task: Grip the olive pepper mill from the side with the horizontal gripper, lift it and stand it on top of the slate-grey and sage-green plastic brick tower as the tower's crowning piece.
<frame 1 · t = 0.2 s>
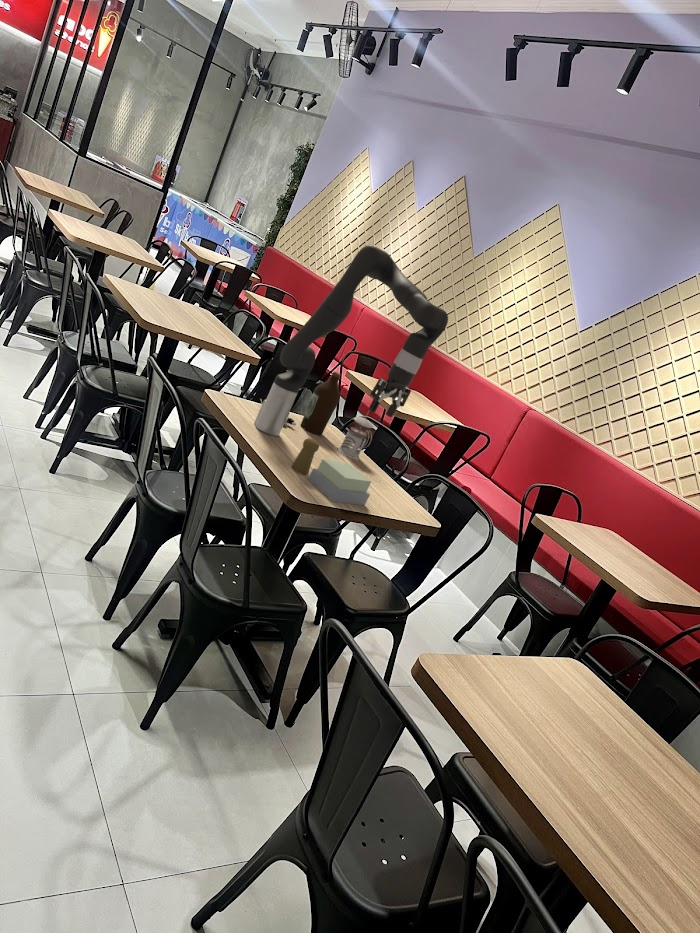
hand: (380, 413, 214), 28 cm above the table, tool pointing down, fingers open, 8 cm apart
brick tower: (336, 492, 220), on the table
robot toy: (275, 419, 270), on the table
olive pepper mill: (299, 470, 224), on the table
olive oil: (310, 430, 278), on the table
french press: (349, 455, 269), on the table
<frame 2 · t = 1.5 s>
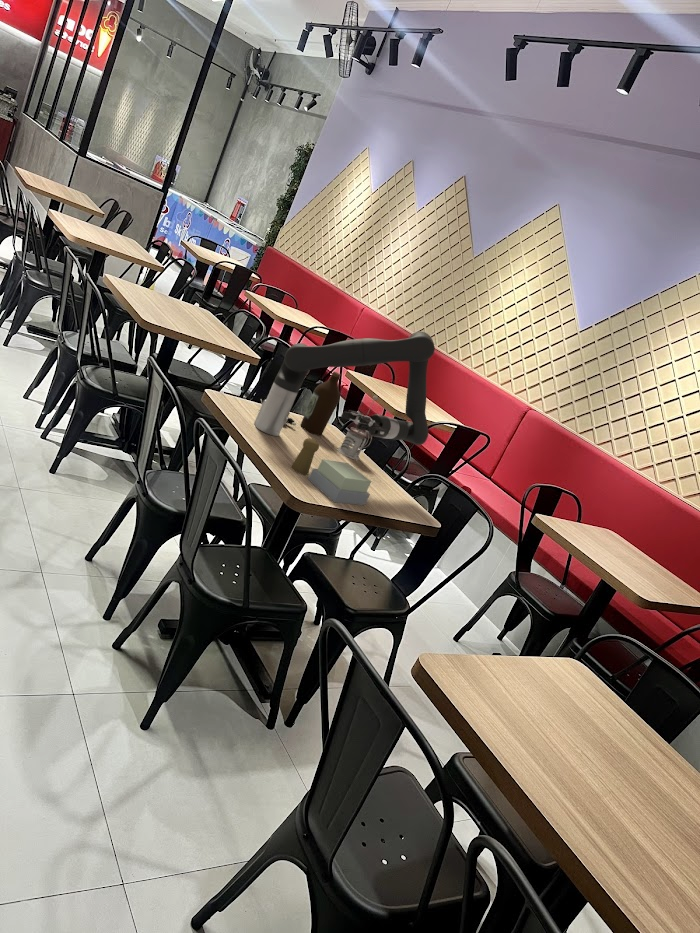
hand: (350, 420, 227), 20 cm above the table, tool horizontal, fingers open, 8 cm apart
nothing on the table moved.
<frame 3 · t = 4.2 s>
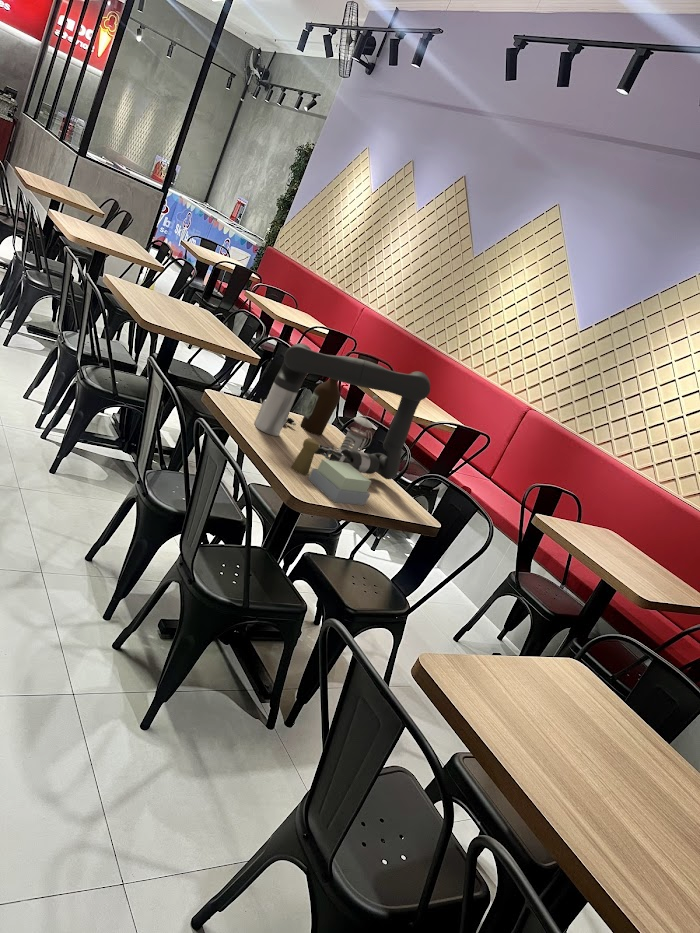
hand: (321, 456, 227), 6 cm above the table, tool horizontal, fingers open, 8 cm apart
nothing on the table moved.
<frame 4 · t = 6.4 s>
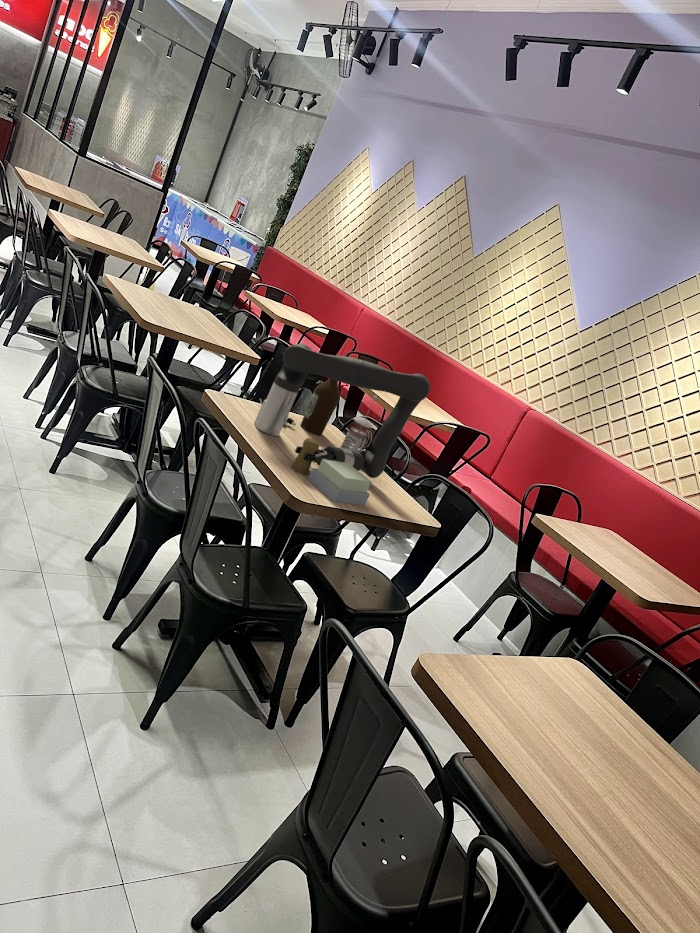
hand: (300, 452, 221), 6 cm above the table, tool horizontal, fingers closed on olive pepper mill, 4 cm apart
olive pepper mill: (299, 470, 224), on the table, touching gripper
everything else where it was.
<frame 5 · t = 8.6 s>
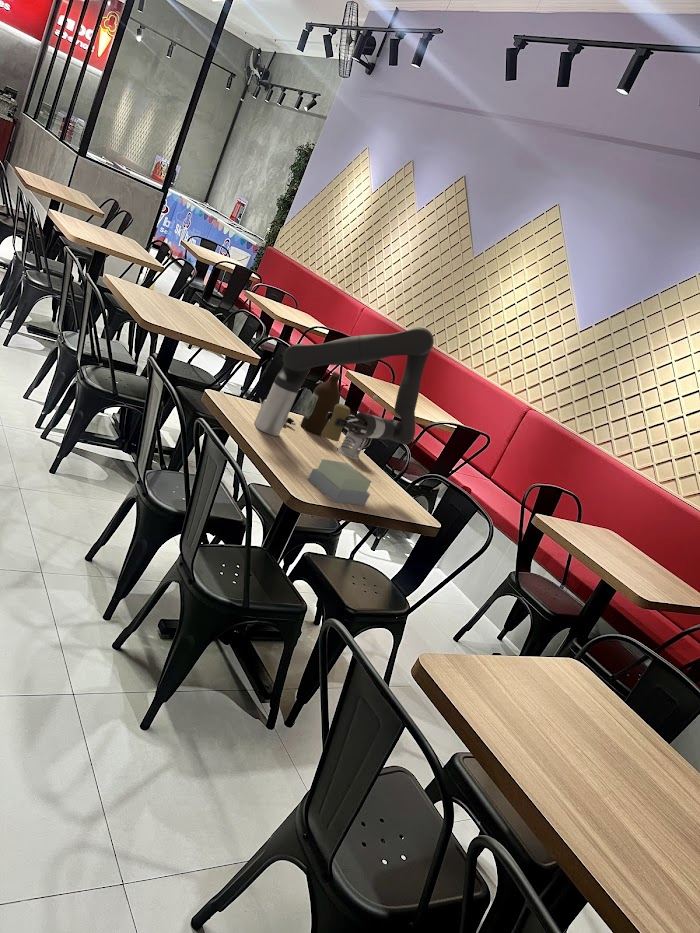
hand: (331, 418, 216), 21 cm above the table, tool horizontal, fingers closed on olive pepper mill, 4 cm apart
olive pepper mill: (329, 437, 219), point 14 cm above the table, touching gripper
everything else where it was.
when the fingers open (14 cm above the table, at t = 11.0 s): olive pepper mill stays where it is, resting on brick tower.
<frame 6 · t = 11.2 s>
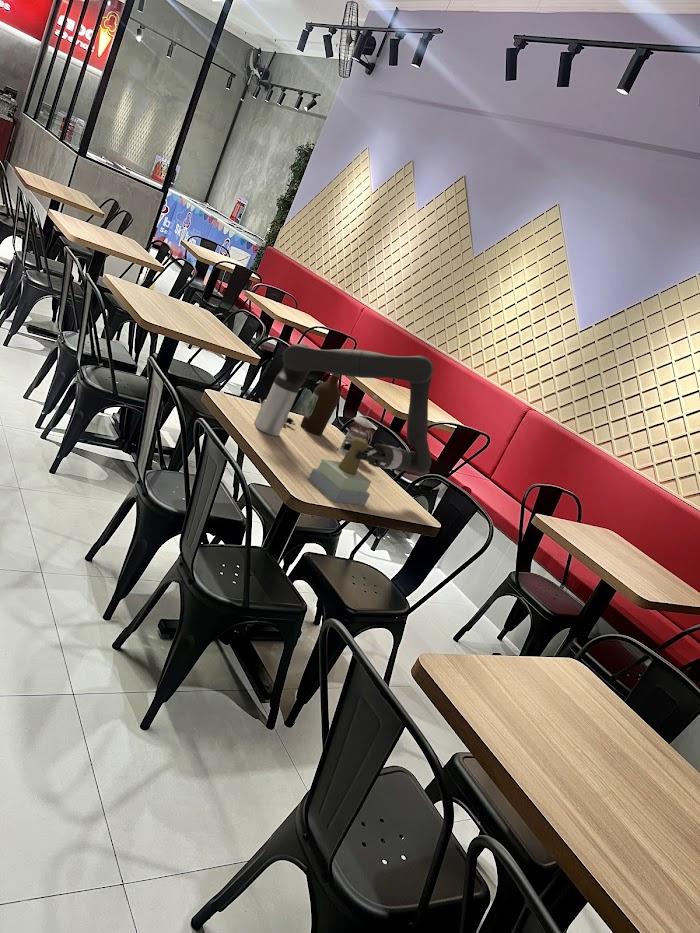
hand: (350, 450, 215), 15 cm above the table, tool horizontal, fingers open, 5 cm apart
olive pepper mill: (346, 470, 218), point 8 cm above the table, touching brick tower
everything else where it was.
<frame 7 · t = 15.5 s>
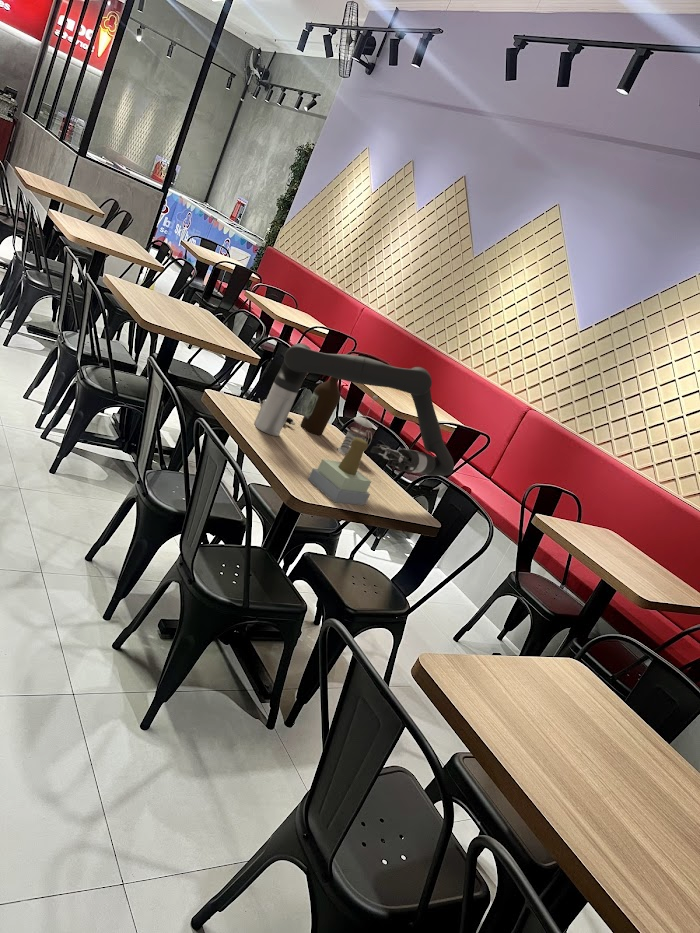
hand: (380, 455, 225), 15 cm above the table, tool horizontal, fingers open, 8 cm apart
nothing on the table moved.
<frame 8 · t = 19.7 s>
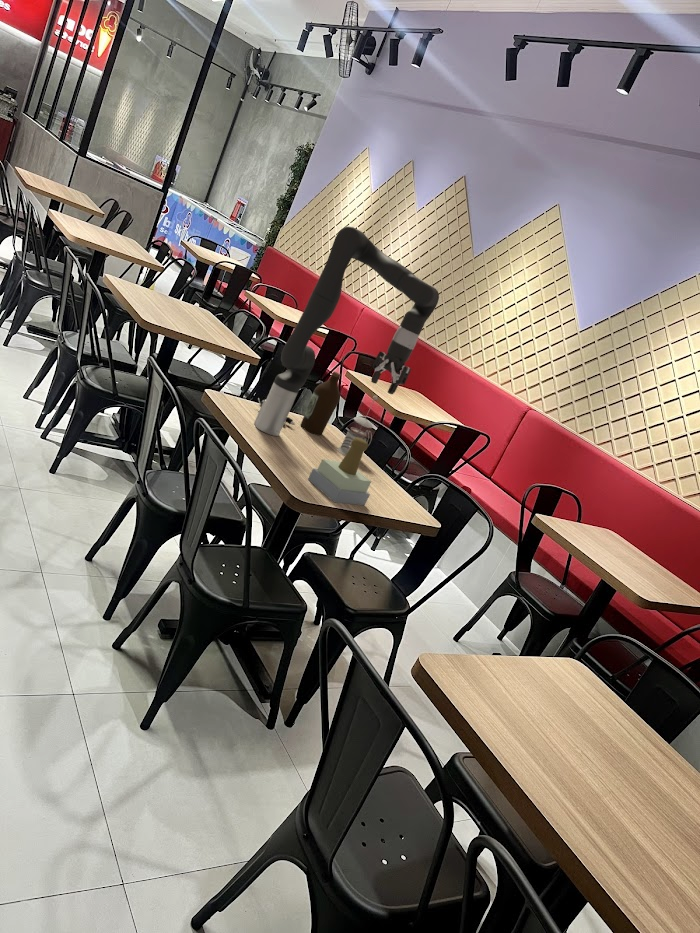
hand: (381, 388, 231), 33 cm above the table, tool pointing down, fingers open, 8 cm apart
nothing on the table moved.
at the end: olive pepper mill inside the target area on the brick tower (0.1 cm from its centre), point 7.8 cm above the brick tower's base; olive pepper mill tilted 0°; the gripper is holding nothing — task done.
